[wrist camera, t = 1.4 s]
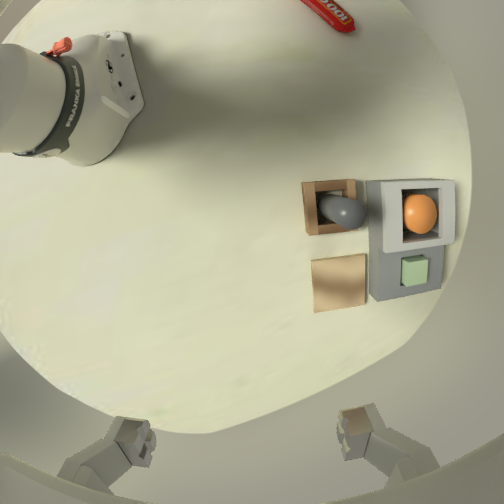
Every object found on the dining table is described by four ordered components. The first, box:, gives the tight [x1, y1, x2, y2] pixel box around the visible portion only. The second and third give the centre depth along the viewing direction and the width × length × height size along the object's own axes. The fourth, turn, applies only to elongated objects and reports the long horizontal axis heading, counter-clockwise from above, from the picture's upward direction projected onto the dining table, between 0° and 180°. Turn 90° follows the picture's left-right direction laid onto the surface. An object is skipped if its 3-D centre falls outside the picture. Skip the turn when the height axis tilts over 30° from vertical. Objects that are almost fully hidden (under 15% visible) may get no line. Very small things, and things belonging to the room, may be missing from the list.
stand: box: [301, 179, 358, 236], centre depth 37 cm, size 7×7×2 cm
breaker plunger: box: [402, 193, 437, 234], centre depth 35 cm, size 5×5×3 cm
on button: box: [400, 255, 428, 287], centre depth 38 cm, size 4×4×3 cm
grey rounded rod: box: [317, 194, 366, 230], centre depth 34 cm, size 3×3×10 cm
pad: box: [311, 253, 365, 313], centre depth 41 cm, size 8×8×1 cm
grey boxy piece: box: [366, 178, 455, 302], centre depth 37 cm, size 17×12×6 cm
